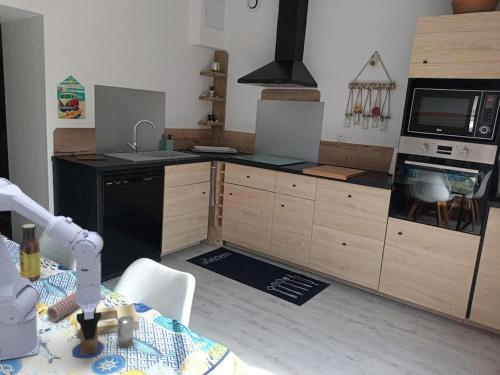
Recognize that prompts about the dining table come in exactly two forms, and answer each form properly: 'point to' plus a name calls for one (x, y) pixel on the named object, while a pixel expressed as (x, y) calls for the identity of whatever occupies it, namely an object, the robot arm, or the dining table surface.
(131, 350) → the dining table surface
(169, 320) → the dining table surface
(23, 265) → the sauce bottle
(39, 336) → the robot arm
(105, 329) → the socket board
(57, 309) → the coil
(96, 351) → the square peg
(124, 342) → the clear glass
